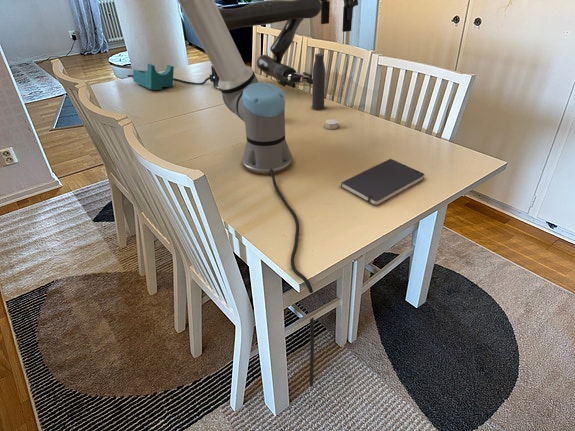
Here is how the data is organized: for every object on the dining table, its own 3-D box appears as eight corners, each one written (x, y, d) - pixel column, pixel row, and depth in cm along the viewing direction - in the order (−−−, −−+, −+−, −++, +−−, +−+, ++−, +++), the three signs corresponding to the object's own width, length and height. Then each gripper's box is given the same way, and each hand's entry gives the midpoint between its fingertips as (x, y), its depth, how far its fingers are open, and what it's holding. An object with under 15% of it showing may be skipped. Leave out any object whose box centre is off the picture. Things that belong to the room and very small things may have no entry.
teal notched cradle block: (172, 90, 189) (173, 66, 185) (150, 89, 182) (151, 65, 177) (154, 81, 200) (155, 59, 196) (133, 80, 193) (133, 57, 188)
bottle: (325, 106, 164) (327, 53, 152) (322, 110, 161) (323, 56, 149) (314, 105, 166) (314, 52, 154) (310, 109, 162) (311, 55, 150)
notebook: (389, 163, 124) (340, 187, 113) (390, 158, 123) (341, 182, 112) (424, 178, 116) (375, 206, 105) (425, 174, 115) (376, 201, 104)
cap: (336, 124, 149) (337, 119, 148) (338, 129, 146) (338, 123, 145) (324, 124, 149) (324, 119, 148) (326, 129, 146) (326, 124, 145)
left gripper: (269, 67, 173) (288, 77, 162) (298, 62, 179) (318, 71, 167) (270, 85, 178) (289, 95, 166) (298, 79, 183) (318, 89, 172)
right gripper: (375, -53, 107) (367, 33, 120) (328, -55, 126) (326, 19, 138) (350, -52, 105) (345, 36, 117) (307, -54, 124) (307, 21, 136)
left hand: (303, 83), depth 167 cm, fingers open, 8 cm apart
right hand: (335, 27), depth 128 cm, fingers open, 13 cm apart
